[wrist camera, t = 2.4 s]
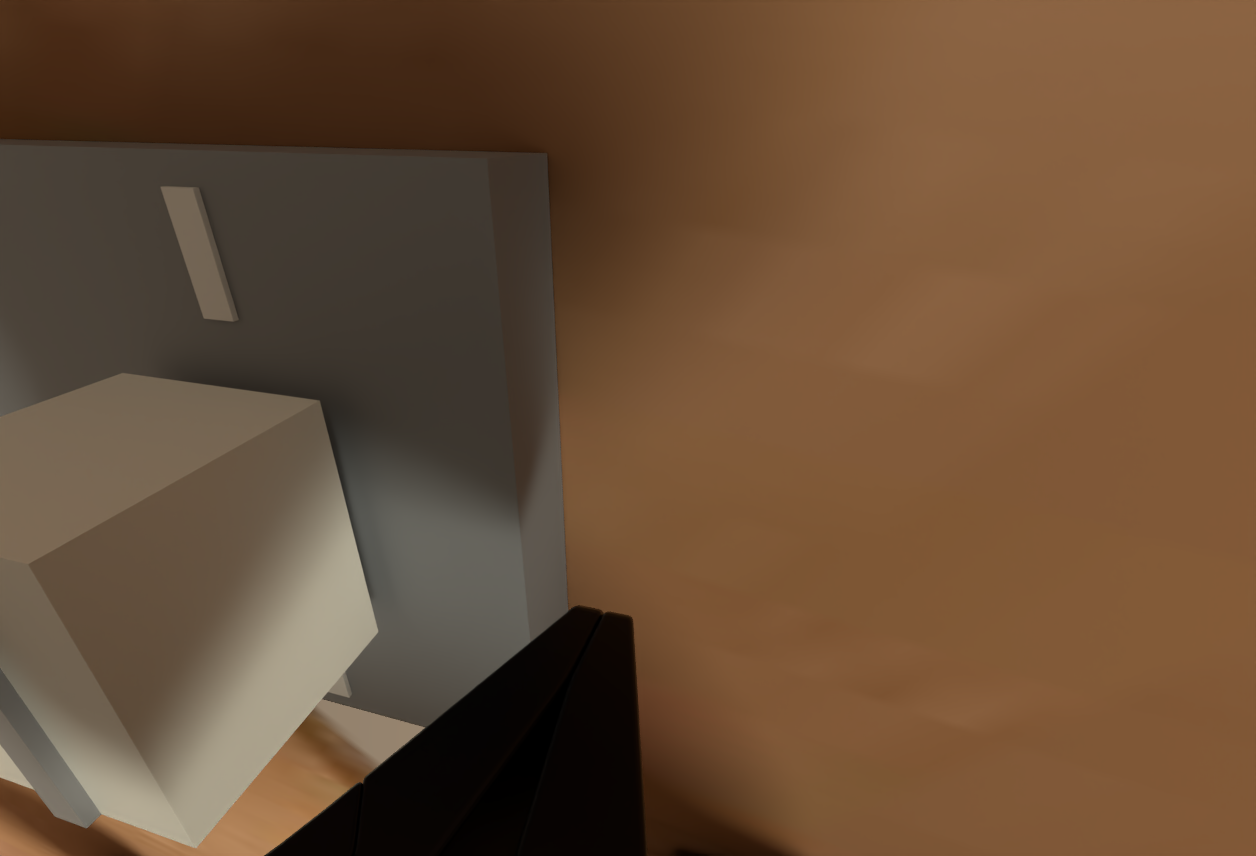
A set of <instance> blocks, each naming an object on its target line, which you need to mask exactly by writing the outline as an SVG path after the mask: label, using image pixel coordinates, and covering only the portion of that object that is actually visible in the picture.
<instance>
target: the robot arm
mask: <svg viewBox="0 0 1256 856" xmlns="http://www.w3.org/2000/svg"><path fill="white" fill-rule="evenodd" d="M264 856H648V855H647V838H646V822H645V806H644V790H643V774H642V758H641V741H640V725H639V709H638V693H637V677H636V661H635V644H634V628H633V619H632V617H631V616H629V615H624V614H619V613H614V612H605V613H603V612H602V611H601V610H600V609H595V608H590V607H585V606H580V605H578V606H575V607H573V608H572V609H570V610H569V611H568V612H567V613H565V614H564V615H563V616H562V617H560V618H559V619H558V620H557V621H556V622H554V623H553V624H552V625H551V626H549V627H548V628H547V629H546V630H545V631H543V632H542V633H541V634H540V635H538V636H537V637H536V638H535V639H533V640H532V641H531V642H530V643H529V644H527V645H526V646H525V647H524V648H522V649H521V650H520V651H519V652H518V653H516V654H515V655H514V656H513V657H511V658H510V659H509V660H508V661H507V662H505V663H504V664H503V665H502V666H500V667H499V668H498V669H497V670H495V671H494V672H493V673H492V674H491V675H489V676H488V677H487V678H486V679H484V680H483V681H482V682H481V683H480V684H478V685H477V686H476V687H475V688H473V689H472V690H471V691H470V692H469V693H467V694H466V695H465V696H464V697H462V698H461V699H460V700H459V701H458V702H456V703H455V704H454V705H453V706H451V707H450V708H449V709H448V710H446V711H445V712H444V713H443V714H442V715H440V716H439V717H438V718H437V719H435V720H434V721H433V722H432V723H431V724H429V725H428V726H427V727H426V728H425V729H423V730H422V731H421V732H420V733H418V734H417V735H416V736H415V737H414V738H412V739H411V740H410V741H409V742H407V743H406V744H405V745H404V746H402V747H401V748H400V749H399V750H398V751H396V752H395V753H394V754H393V755H391V756H390V757H389V758H388V759H386V760H385V761H384V762H383V763H382V764H380V765H379V766H378V767H377V768H375V769H374V770H373V771H372V772H370V773H369V774H368V775H367V776H366V777H365V778H364V780H363V784H362V783H360V782H359V783H357V784H355V785H354V786H353V787H352V788H350V789H349V790H348V791H347V792H346V793H344V794H343V795H342V796H341V797H339V798H338V799H337V800H336V801H335V802H333V803H332V804H331V805H330V806H328V807H327V808H326V809H325V810H323V811H322V812H321V813H319V814H318V815H317V816H316V817H314V818H313V819H312V820H310V821H309V822H308V823H307V824H305V825H304V826H303V827H302V828H300V829H299V830H298V831H296V832H295V833H294V834H293V835H291V836H290V837H289V838H287V839H286V840H285V841H284V842H282V843H281V844H280V845H278V846H277V847H276V848H274V849H273V850H271V851H270V852H269V853H267V854H266V855H264Z"/></svg>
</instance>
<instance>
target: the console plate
mask: <svg viewBox="0 0 1256 856" xmlns="http://www.w3.org/2000/svg"><path fill="white" fill-rule="evenodd" d="M121 373H127V374H134V375H141V376H148V377H156V378H163V379H170V380H177V381H184V382H191V383H198V384H206V385H213V386H220V387H227V388H234V389H241V390H248V391H256V392H263V393H270V394H277V395H284V396H291V397H298V398H306V399H313V400H320V404H321V408H322V412H323V416H324V419H325V423H326V427H327V431H328V435H329V439H330V443H331V447H332V451H333V455H334V459H335V463H336V467H337V471H338V475H339V479H340V483H341V486H342V490H343V494H344V498H345V502H346V506H347V510H348V514H349V518H350V522H351V526H352V530H353V534H354V538H355V542H356V546H357V550H358V553H359V557H360V561H361V565H362V569H363V573H364V577H365V581H366V585H367V589H368V593H369V597H370V601H371V605H372V609H373V613H374V617H375V620H376V624H377V628H378V633H377V634H376V635H375V637H374V638H373V639H372V640H371V641H370V643H369V644H368V645H367V646H366V647H365V648H364V650H363V651H362V652H361V653H360V654H359V656H358V657H357V658H356V659H355V660H354V662H353V663H352V664H351V665H350V666H349V667H348V669H347V670H346V671H345V672H344V673H343V675H342V676H341V677H340V678H339V679H338V681H337V682H336V683H335V684H334V685H333V686H332V688H331V689H330V690H329V691H328V692H327V694H326V695H325V696H324V697H323V698H322V699H324V700H328V701H331V702H335V703H339V704H342V705H346V706H350V707H353V708H357V709H361V710H364V711H368V712H371V713H375V714H379V715H383V716H386V717H390V718H393V719H398V720H401V721H405V722H408V723H412V724H415V725H419V726H423V727H427V726H428V725H429V724H431V723H432V722H433V721H434V720H435V719H437V718H438V717H439V716H440V715H442V714H443V713H444V712H445V711H446V710H448V709H449V708H450V707H451V706H453V705H454V704H455V703H456V702H458V701H459V700H460V699H461V698H462V697H464V696H465V695H466V694H467V693H469V692H470V691H471V690H472V689H473V688H475V687H476V686H477V685H478V684H480V683H481V682H482V681H483V680H484V679H486V678H487V677H488V676H489V675H491V674H492V673H493V672H494V671H495V670H497V669H498V668H499V667H500V666H502V665H503V664H504V663H505V662H507V661H508V660H509V659H510V658H511V657H513V656H514V655H515V654H516V653H518V652H519V651H520V650H521V649H522V648H524V647H525V646H526V645H527V644H529V643H530V642H531V641H532V640H533V639H535V638H536V637H537V636H538V635H540V634H541V633H542V632H543V631H545V630H546V629H547V628H548V627H549V626H551V625H552V624H553V623H554V622H556V621H557V620H558V619H559V618H560V617H562V616H563V615H564V614H565V613H567V612H568V596H567V574H566V552H565V531H564V509H563V487H562V466H561V444H560V422H559V401H558V379H557V357H556V336H555V314H554V292H553V271H552V249H551V227H550V206H549V184H548V162H547V153H526V152H487V151H448V150H409V149H371V148H332V147H293V146H254V145H215V144H176V143H138V142H99V141H60V140H21V139H0V417H1V416H4V415H7V414H9V413H12V412H15V411H18V410H21V409H23V408H26V407H29V406H32V405H34V404H37V403H40V402H43V401H46V400H48V399H51V398H54V397H57V396H60V395H62V394H65V393H68V392H71V391H74V390H76V389H79V388H82V387H85V386H87V385H90V384H93V383H96V382H99V381H101V380H104V379H107V378H110V377H113V376H115V375H118V374H121Z"/></svg>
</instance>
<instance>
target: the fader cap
mask: <svg viewBox="0 0 1256 856" xmlns="http://www.w3.org/2000/svg"><path fill="white" fill-rule="evenodd" d="M377 633H378V628H377V624H376V620H375V617H374V613H373V609H372V605H371V601H370V597H369V593H368V589H367V585H366V581H365V577H364V573H363V569H362V565H361V561H360V557H359V553H358V550H357V546H356V542H355V538H354V534H353V530H352V526H351V522H350V518H349V514H348V510H347V506H346V502H345V498H344V494H343V490H342V486H341V483H340V479H339V475H338V471H337V467H336V463H335V459H334V455H333V451H332V447H331V443H330V439H329V435H328V431H327V427H326V423H325V419H324V416H323V412H322V408H321V404H320V400H313V399H306V398H298V397H291V396H284V395H277V394H270V393H263V392H256V391H248V390H241V389H234V388H227V387H220V386H213V385H206V384H198V383H191V382H184V381H177V380H170V379H163V378H156V377H148V376H141V375H134V374H127V373H121V374H118V375H115V376H113V377H110V378H107V379H104V380H101V381H99V382H96V383H93V384H90V385H87V386H85V387H82V388H79V389H76V390H74V391H71V392H68V393H65V394H62V395H60V396H57V397H54V398H51V399H48V400H46V401H43V402H40V403H37V404H34V405H32V406H29V407H26V408H23V409H21V410H18V411H15V412H12V413H9V414H7V415H4V416H1V417H0V778H3V779H6V780H9V781H11V782H14V783H17V784H20V785H22V786H25V787H28V788H31V789H33V790H35V791H36V792H37V794H38V795H39V796H40V798H41V799H42V800H43V802H44V803H45V804H46V806H47V807H48V808H49V810H50V811H51V812H52V814H53V815H54V816H55V817H57V818H60V819H63V820H65V821H68V822H71V823H73V824H76V825H79V826H81V827H84V828H88V827H89V826H90V825H91V824H92V823H93V822H94V821H95V820H96V819H97V818H98V817H99V816H100V815H101V814H102V815H105V816H108V817H111V818H114V819H116V820H119V821H122V822H125V823H127V824H130V825H133V826H136V827H138V828H141V829H144V830H147V831H149V832H152V833H155V834H158V835H160V836H163V837H166V838H169V839H172V840H174V841H177V842H180V843H183V844H185V845H188V846H191V847H194V848H197V847H198V845H199V844H200V843H201V842H202V841H203V840H204V838H205V837H206V836H207V835H208V834H209V832H210V831H211V830H212V829H213V828H214V827H215V825H216V824H217V823H218V822H219V821H220V819H221V818H222V817H223V816H224V815H225V813H226V812H227V811H228V810H229V809H230V808H231V806H232V805H233V804H234V803H235V802H236V800H237V799H238V798H239V797H240V796H241V794H242V793H243V792H244V791H245V790H246V789H247V787H248V786H249V785H250V784H251V783H252V781H253V780H254V779H255V778H256V777H257V775H258V774H259V773H260V772H261V771H262V770H263V768H264V767H265V766H266V765H267V764H268V762H269V761H270V760H271V759H272V758H273V756H274V755H275V754H276V753H277V752H278V751H279V749H280V748H281V747H282V746H283V745H284V743H285V742H286V741H287V740H288V739H289V737H290V736H291V735H292V734H293V733H294V732H295V730H296V729H297V728H298V727H299V726H300V724H301V723H302V722H303V721H304V720H305V719H306V717H307V716H308V715H309V714H310V713H311V711H312V710H313V709H314V708H315V707H316V705H317V704H318V703H319V702H320V701H321V700H322V698H323V697H324V696H325V695H326V694H327V692H328V691H329V690H330V689H331V688H332V686H333V685H334V684H335V683H336V682H337V681H338V679H339V678H340V677H341V676H342V675H343V673H344V672H345V671H346V670H347V669H348V667H349V666H350V665H351V664H352V663H353V662H354V660H355V659H356V658H357V657H358V656H359V654H360V653H361V652H362V651H363V650H364V648H365V647H366V646H367V645H368V644H369V643H370V641H371V640H372V639H373V638H374V637H375V635H376V634H377Z"/></svg>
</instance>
